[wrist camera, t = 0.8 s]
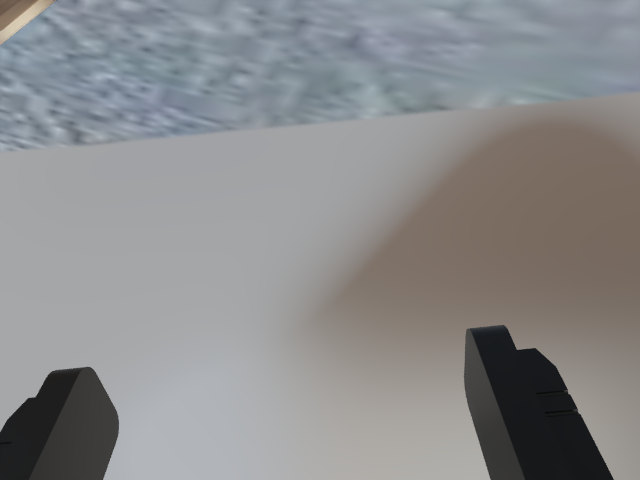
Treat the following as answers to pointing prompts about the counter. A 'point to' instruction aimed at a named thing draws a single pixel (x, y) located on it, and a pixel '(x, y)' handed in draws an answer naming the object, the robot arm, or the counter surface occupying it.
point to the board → (24, 19)
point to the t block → (13, 10)
